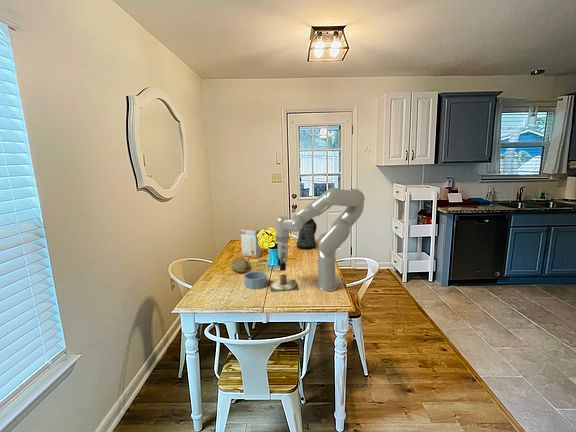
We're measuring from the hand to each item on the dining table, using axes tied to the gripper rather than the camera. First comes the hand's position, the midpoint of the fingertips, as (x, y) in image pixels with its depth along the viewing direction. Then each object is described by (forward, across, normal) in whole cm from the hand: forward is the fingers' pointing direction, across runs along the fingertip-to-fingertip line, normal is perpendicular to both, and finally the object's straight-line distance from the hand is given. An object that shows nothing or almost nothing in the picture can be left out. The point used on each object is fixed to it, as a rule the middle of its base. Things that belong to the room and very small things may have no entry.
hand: (281, 267), depth 180 cm
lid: (+11, 0, -1) cm, 11 cm away
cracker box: (+12, +61, +16) cm, 64 cm away
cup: (+12, +4, +15) cm, 19 cm away
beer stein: (+11, +80, -31) cm, 86 cm away
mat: (+11, 0, -1) cm, 11 cm away
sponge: (+13, +34, +24) cm, 43 cm away
